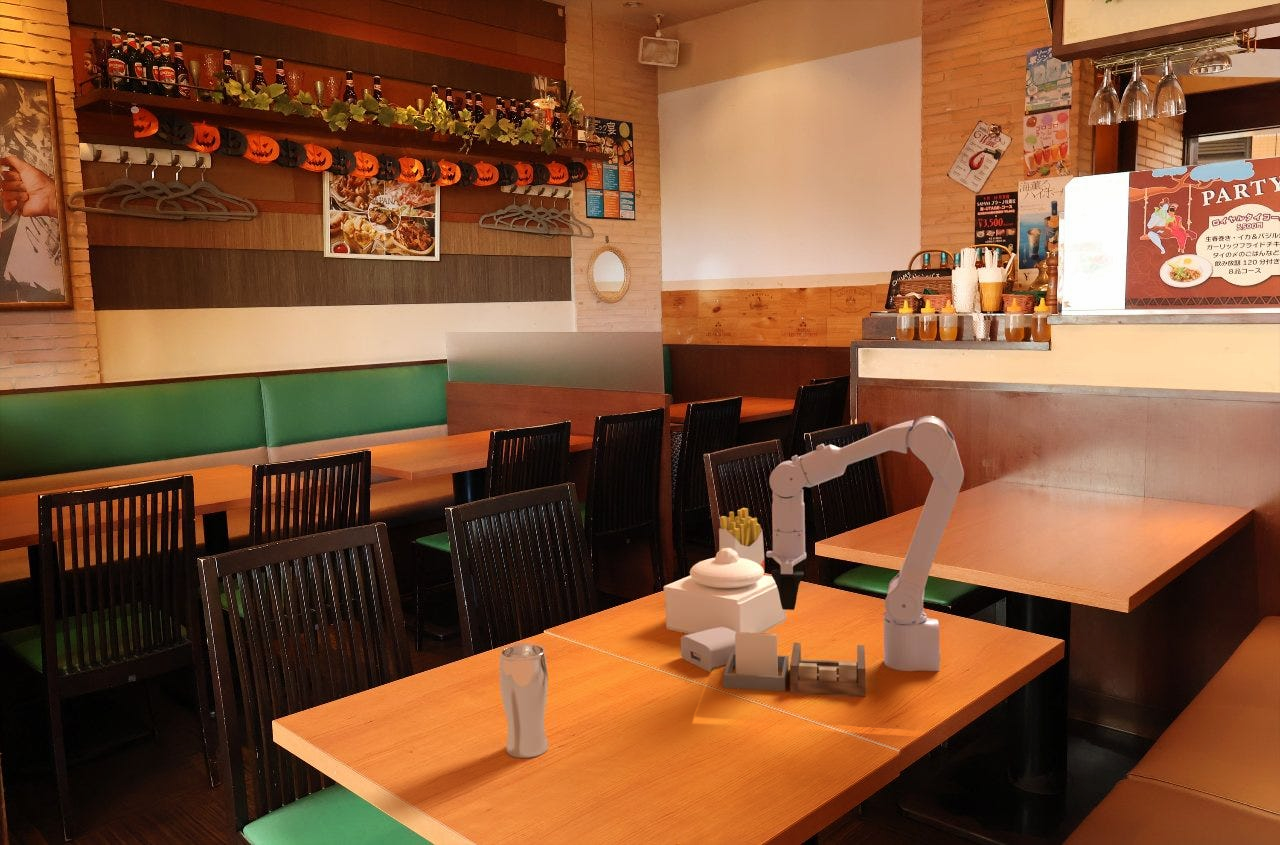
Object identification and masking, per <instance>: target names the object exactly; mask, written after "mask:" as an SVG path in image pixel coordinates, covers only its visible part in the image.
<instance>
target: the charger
mask: <svg viewBox="0 0 1280 845" xmlns="http://www.w3.org/2000/svg"><path fill="white" fill-rule="evenodd" d="M735 633H736V632H735V631H733V630H731V629H728V628H726V627H717V628H713V629H709V630H705V631H701V632H697V633H693V634H686V635H682V636H681V637H680V653H681V658H682V659H683V660H684V659H685V661H686V662H688V663H691V664H693V665H695V666H696V667H699V668H700V669H703V670H705V671H707V672H708V673H710V672H713V669H715V668H718V667H722V666H726V664H727V661H728V658H729V655H730V653H735Z"/></svg>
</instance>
